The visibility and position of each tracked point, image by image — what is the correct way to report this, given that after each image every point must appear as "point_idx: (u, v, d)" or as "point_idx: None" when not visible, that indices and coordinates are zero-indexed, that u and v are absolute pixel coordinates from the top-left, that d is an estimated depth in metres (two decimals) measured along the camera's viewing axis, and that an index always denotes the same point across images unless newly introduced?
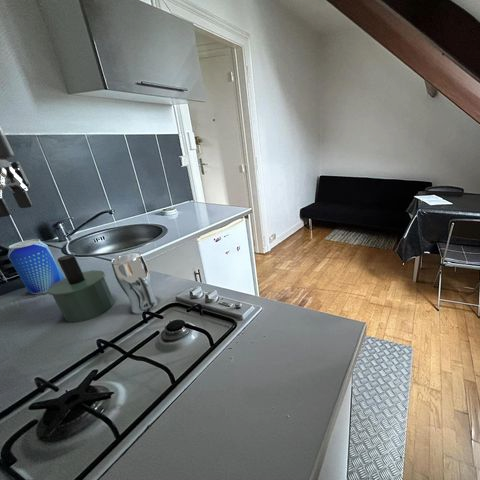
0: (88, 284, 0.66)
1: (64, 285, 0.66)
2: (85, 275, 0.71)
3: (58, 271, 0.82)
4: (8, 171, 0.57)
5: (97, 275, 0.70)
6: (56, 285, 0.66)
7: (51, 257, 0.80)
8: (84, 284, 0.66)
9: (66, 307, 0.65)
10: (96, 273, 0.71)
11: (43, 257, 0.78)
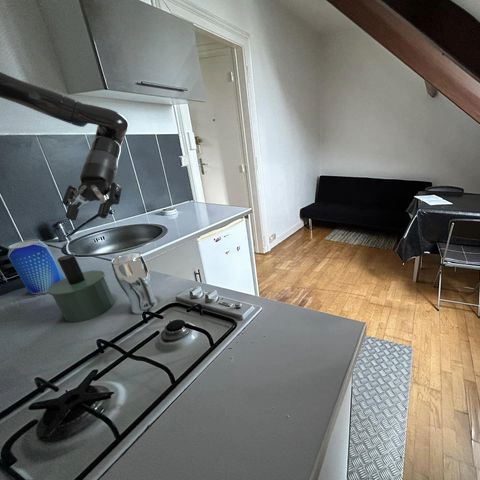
0: (88, 284, 0.66)
1: (64, 285, 0.66)
2: (85, 275, 0.71)
3: (58, 271, 0.82)
4: None
5: (97, 275, 0.70)
6: (56, 285, 0.66)
7: (51, 257, 0.80)
8: (84, 284, 0.66)
9: (66, 307, 0.65)
10: (96, 273, 0.71)
11: (43, 257, 0.78)
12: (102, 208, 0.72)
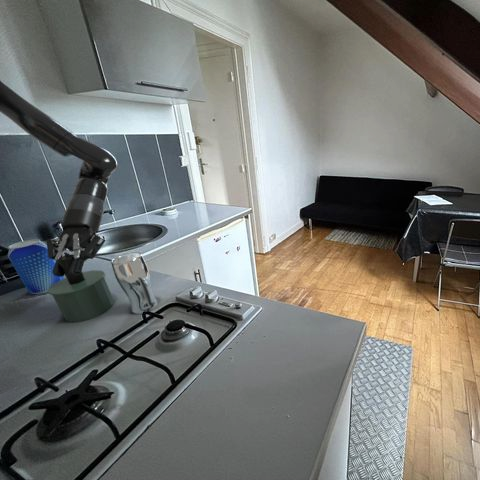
0: (88, 284, 0.66)
1: (64, 285, 0.66)
2: (85, 275, 0.71)
3: None
4: None
5: (97, 275, 0.70)
6: (56, 285, 0.66)
7: None
8: (84, 284, 0.66)
9: (66, 307, 0.65)
10: (96, 273, 0.71)
11: (43, 257, 0.78)
12: (74, 265, 0.65)
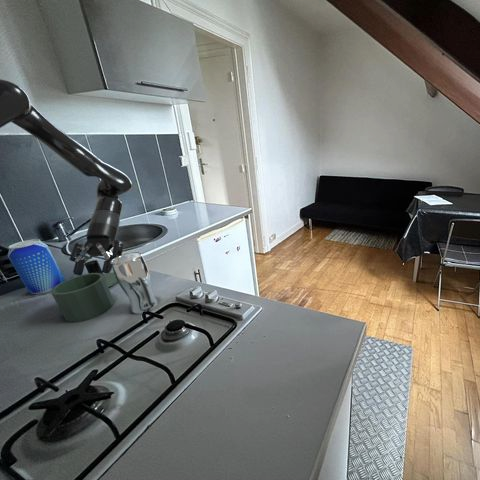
0: (109, 284, 0.81)
1: None
2: (105, 277, 0.86)
3: (58, 271, 0.82)
4: None
5: (115, 277, 0.86)
6: None
7: (51, 257, 0.80)
8: None
9: (66, 307, 0.65)
10: (114, 275, 0.87)
11: (43, 257, 0.78)
12: (106, 265, 0.81)
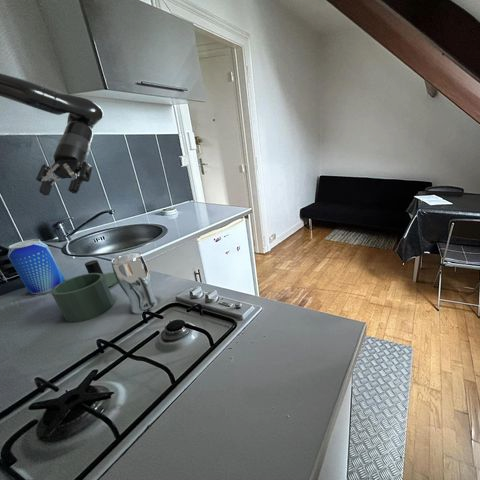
0: (109, 284, 0.81)
1: None
2: (105, 277, 0.86)
3: (58, 271, 0.82)
4: None
5: (115, 277, 0.86)
6: None
7: (51, 257, 0.80)
8: None
9: (66, 307, 0.65)
10: (114, 275, 0.87)
11: (43, 257, 0.78)
12: (73, 184, 0.80)
